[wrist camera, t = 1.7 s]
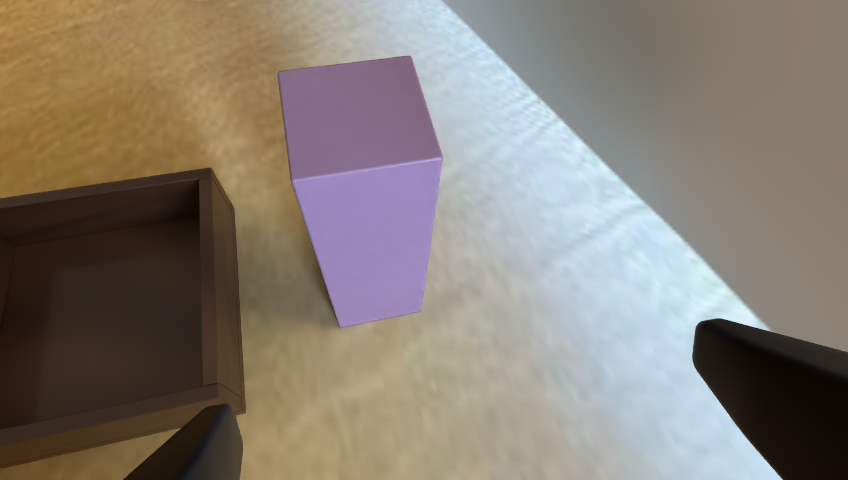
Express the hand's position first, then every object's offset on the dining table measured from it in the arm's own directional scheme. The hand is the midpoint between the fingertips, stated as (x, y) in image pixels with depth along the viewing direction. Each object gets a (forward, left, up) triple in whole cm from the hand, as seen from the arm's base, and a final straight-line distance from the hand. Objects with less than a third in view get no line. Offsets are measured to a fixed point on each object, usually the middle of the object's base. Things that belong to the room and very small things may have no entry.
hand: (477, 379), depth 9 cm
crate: (-5, +15, -14) cm, 21 cm away
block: (+4, +7, -14) cm, 16 cm away
